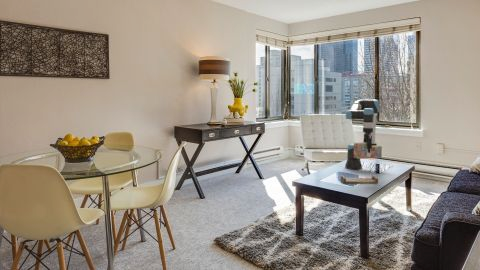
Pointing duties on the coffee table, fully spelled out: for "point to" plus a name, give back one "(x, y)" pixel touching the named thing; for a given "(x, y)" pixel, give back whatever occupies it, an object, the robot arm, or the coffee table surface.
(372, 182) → the base board
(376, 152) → the stack of blocks
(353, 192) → the coffee table surface
